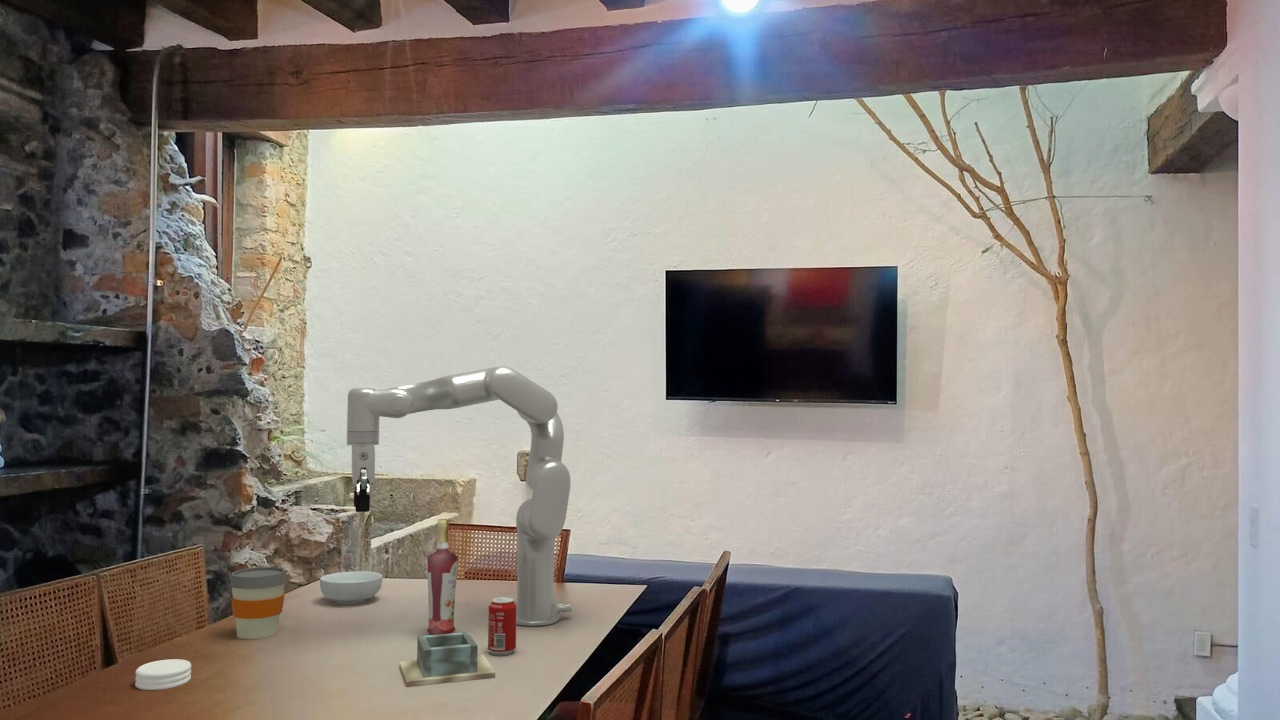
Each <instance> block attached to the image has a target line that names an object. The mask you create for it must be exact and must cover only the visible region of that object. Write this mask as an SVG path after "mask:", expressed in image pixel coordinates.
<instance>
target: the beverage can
mask: <svg viewBox="0 0 1280 720" xmlns="http://www.w3.org/2000/svg"><path fill="white" fill-rule="evenodd" d="M516 613H517V603H516V602H515V599H514V598H512V597H509V596H508V597H507V596H499V597H495V598H492V599H491V602H490V604H489V605H488V617H487V618H488V624H487V625H488V626H487V627H488V628H487V629H488V631H487V650H489V652H490V653H491V654H492V655H494V656H508V655H511V654H512V653H513V652H514V651H515V650H516V648H517V624H516Z"/></svg>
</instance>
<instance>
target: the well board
mask: <svg viewBox="0 0 1280 720" xmlns="http://www.w3.org/2000/svg"><path fill="white" fill-rule="evenodd" d="M416 643H417V644H416V645H417V647H416V648H417V650H416V659H412V660H404V661H399V669H400V671H401V674H402V678H403V680H404V684H405V687H407V688H409V687H416V686H427V685H428V686H429V685H437V684H446V683H447V684H448V683H455V682H463V681H472V680H473V681H474V680H482V679H483V680H485V679H491V678H496V671H495V670H494V669H493V667H492V665H491V664H490V662H489V661H488V659H487V658H486V656H485V655H484V653H478V651H479V650H478V649H479V648H478V644H477V642H476V640H475V639H474V638H473V637H472V635H471V633H470V632H469V631H465V632H455V633H454V632H453V633H450V634H439V635H431V634H429V635H428V634H427V635H420V636H417V642H416Z"/></svg>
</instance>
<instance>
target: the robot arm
mask: <svg viewBox="0 0 1280 720" xmlns="http://www.w3.org/2000/svg"><path fill="white" fill-rule="evenodd" d="M497 400H498V401H499V400H500V401H501V402H503V403H504V404H506V405H507V406H509V407H510V408H512V409H514V410H516V412H517V414H518V415H519V417H520V418H522V419H523V420H524V421H525V422H526V423H527V425H528V426H529V428H530V433H531V440H530V450H529V456H528V457H529V458H528V462H527V468H526V474H525V482H526V485H527V486H528V487H529V489H530V490H532V495H531V498H528V499H527V500H525V501H523V502H522V503H521V504H520V506H519V507H518V510H517V512H516V517H515V518H516V519H515V524H516V525H515V527H516V536H517V537H516V538H517V570H516V571H517V572H516V573H517V574H516V575H517V576H516V582H517V583H516V625H519V626H525V627H538V626H539V627H542V626H548V625H552V624H555V623H558V621H559V620H560V613H561V612H564V613H567V612H569V613H570V612H572V604H571V603H563V602H561V603H557V602H555V600H554V597H555V596H554V594H555V593H554V591H555V589H554V588H555V583H554V581H555V541H554V539H555V538H556V537H557V536H559V535H560V534H561V532H562V531H563V529H564V526H565V522H566V516H567V511H568V504H569V498H570V491H571V474H570V472H569V469H568V467H567V466H566V465H565V464H564V463H563V462H562V460H563V450H564V441H565V439H564V438H565V433H564V432H565V431H564V426H563V423H562V422H563V421H562V419H561V417H560V415H559V413H558V407H559V406H558V401H557V399H556V398H555V396H554V395H553V394H552V393H551V392H550V391H549V390H547V389H545V388H544V387H542V386H541V385H539V384H537V383H536V382H534V381H533V380H531V379H529V378H528V377H526V376H525V375H523V374H522V373H520V372H519V371H517V370H516V369H514V368H512V367H510V366H505V365H504V366H503V365H502V366H494V367H493V366H492V367H490V368H489V367H488V368H483V369H478V370H477V369H476V370H473V371H468V372H467V371H466V372H461V373H456V374H449V375H446V376H442V377H438V378H434V379H431V380H427V381H422V382H417V383H416V382H415V383H411V384H406V385H400V386H394V387H390V388H385V389H376V388H366V387H364V388H363V387H362V388H361V387H360V388H359V387H357V388H356V387H354V388H351V389H350V390H349V391H348V393H347V410H346V411H347V415H346V418H347V419H346V446H351V477H352V485H354V490H353V507H354V508H355V513H369V512H370V511H371V494H370V485H371V487H374V486H375V485H376V482H375V481H376V450H375V449H376V448H375V446H378V445H380V417H383V418H388V419H389V418H391V419H401V418H404V417H406V416H407V415H411V414H416V413H420V412H427V411H433V410H436V411H437V410H453V409H458V408H460V409H461V408H464V407H468V406H474V405H479V404H484V403H488V402H493V401H497Z"/></svg>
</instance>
